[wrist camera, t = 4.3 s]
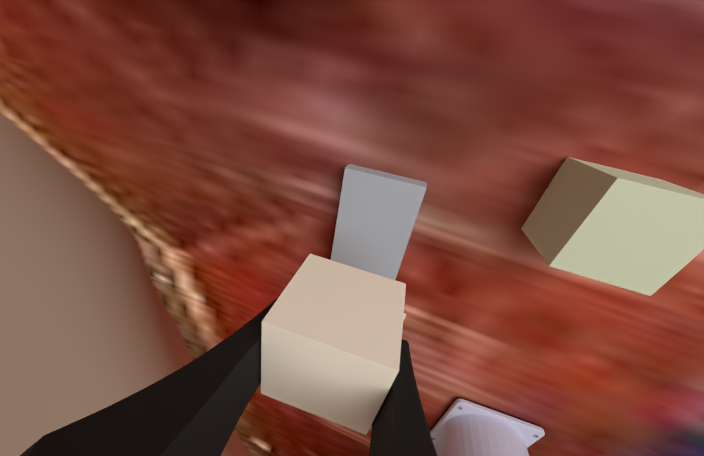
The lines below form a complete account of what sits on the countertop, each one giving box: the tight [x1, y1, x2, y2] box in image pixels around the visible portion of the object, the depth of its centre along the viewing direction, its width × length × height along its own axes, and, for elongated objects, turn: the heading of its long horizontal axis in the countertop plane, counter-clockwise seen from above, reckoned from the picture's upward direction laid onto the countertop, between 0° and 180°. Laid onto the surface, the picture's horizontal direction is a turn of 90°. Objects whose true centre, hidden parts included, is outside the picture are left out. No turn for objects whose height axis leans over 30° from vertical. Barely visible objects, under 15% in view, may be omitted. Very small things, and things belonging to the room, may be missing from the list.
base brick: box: [331, 164, 427, 280], centre depth 18 cm, size 10×5×2 cm, turn 170°
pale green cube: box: [521, 157, 704, 296], centre depth 12 cm, size 4×4×4 cm
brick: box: [261, 254, 406, 435], centre depth 10 cm, size 4×4×4 cm
